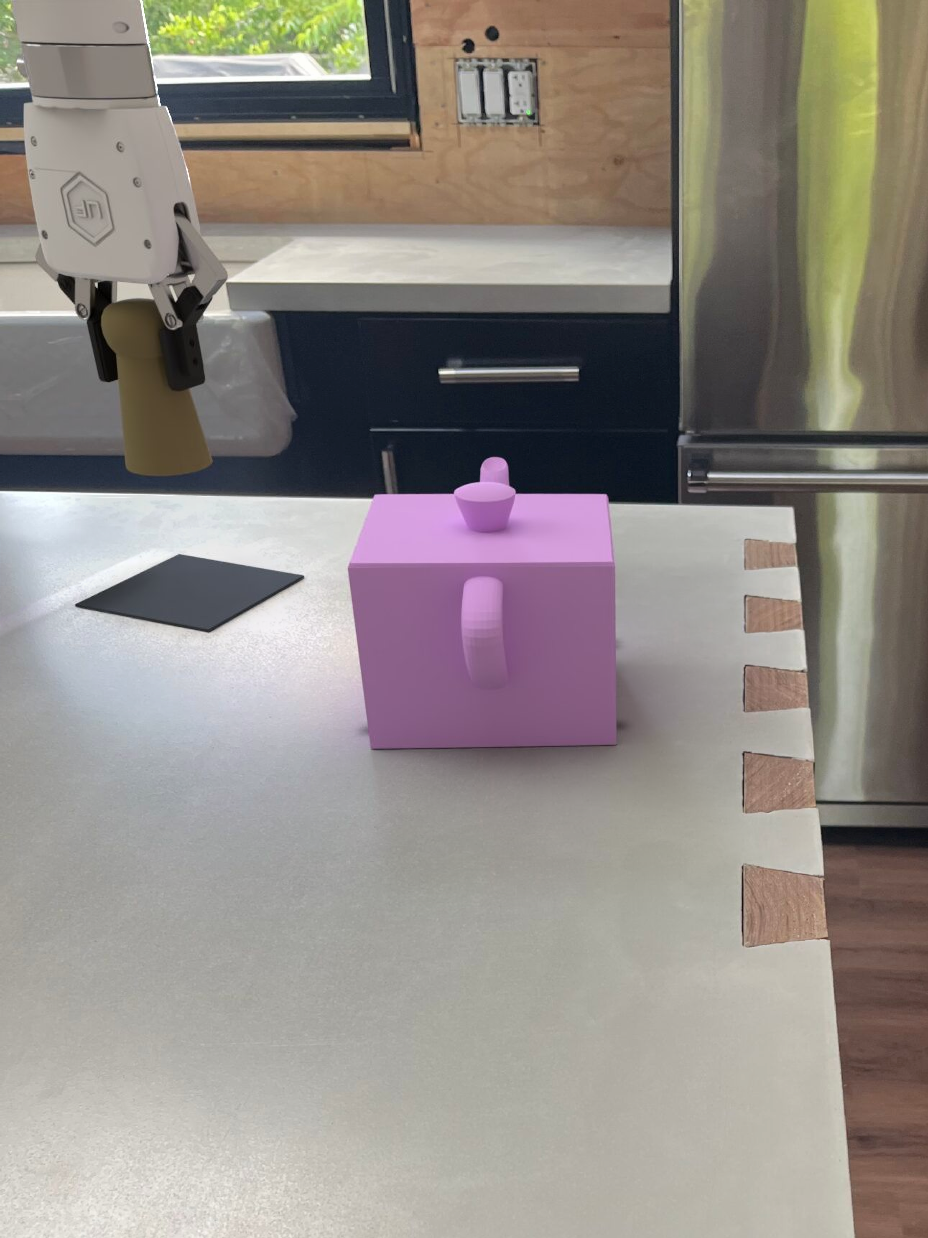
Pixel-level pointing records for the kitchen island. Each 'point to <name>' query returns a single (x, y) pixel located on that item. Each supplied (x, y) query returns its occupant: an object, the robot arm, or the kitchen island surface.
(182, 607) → the mat
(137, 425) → the cork
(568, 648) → the teapot
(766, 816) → the kitchen island surface
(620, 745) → the kitchen island surface
